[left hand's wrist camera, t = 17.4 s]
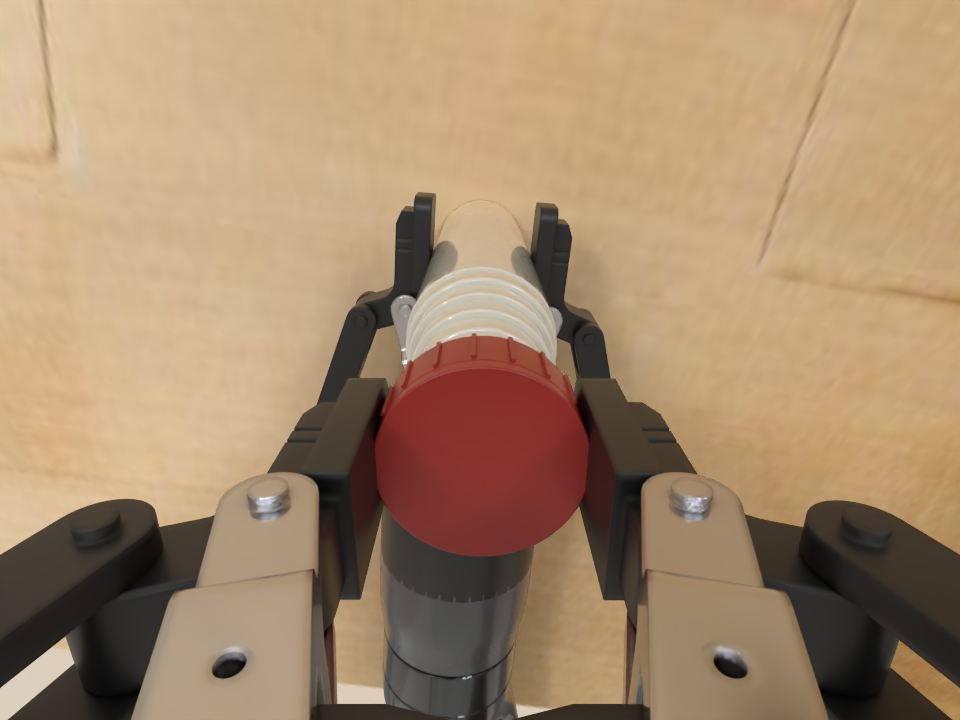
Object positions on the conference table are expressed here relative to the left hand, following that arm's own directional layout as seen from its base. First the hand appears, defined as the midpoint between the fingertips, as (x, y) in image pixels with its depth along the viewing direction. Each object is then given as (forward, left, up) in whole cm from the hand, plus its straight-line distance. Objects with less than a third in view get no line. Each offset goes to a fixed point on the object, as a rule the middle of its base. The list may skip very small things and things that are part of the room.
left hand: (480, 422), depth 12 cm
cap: (0, 0, +1) cm, 1 cm away
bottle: (0, 0, -20) cm, 20 cm away
